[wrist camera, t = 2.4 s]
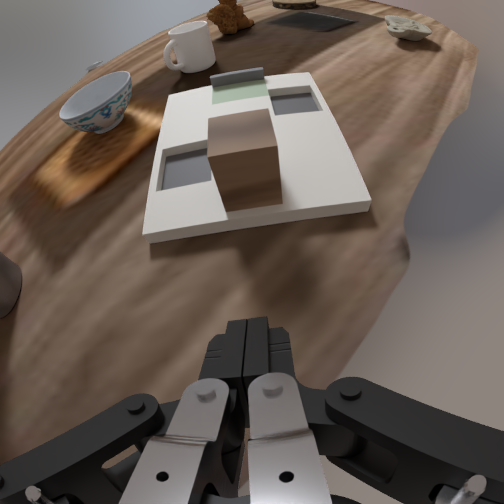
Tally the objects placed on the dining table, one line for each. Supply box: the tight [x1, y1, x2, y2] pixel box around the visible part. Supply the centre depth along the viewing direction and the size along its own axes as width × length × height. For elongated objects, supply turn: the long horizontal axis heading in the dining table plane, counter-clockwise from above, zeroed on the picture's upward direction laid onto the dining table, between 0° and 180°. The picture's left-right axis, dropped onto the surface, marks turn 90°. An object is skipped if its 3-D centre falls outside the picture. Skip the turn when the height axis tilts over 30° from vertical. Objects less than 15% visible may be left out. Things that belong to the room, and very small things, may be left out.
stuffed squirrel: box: [207, 0, 254, 34], centre depth 61 cm, size 10×14×13 cm
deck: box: [142, 67, 371, 244], centre depth 38 cm, size 30×25×4 cm
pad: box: [212, 79, 269, 105], centre depth 44 cm, size 7×9×2 cm
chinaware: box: [59, 71, 132, 134], centre depth 46 cm, size 15×15×8 cm
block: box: [207, 108, 283, 212], centre depth 29 cm, size 6×6×8 cm
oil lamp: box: [385, 15, 432, 41], centre depth 56 cm, size 21×14×5 cm
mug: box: [164, 21, 216, 73], centre depth 50 cm, size 12×8×10 cm
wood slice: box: [272, 0, 316, 9], centre depth 78 cm, size 16×16×3 cm
